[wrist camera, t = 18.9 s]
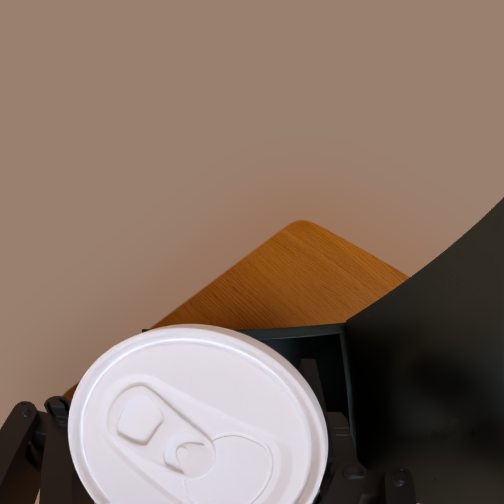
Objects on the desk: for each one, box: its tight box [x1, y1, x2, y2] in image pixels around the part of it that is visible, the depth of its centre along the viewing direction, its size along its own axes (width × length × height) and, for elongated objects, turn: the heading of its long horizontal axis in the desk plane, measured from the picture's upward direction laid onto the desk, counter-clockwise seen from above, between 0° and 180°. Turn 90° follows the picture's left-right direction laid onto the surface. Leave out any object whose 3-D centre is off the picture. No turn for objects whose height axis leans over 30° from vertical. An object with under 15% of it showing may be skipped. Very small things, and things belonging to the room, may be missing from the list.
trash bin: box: [142, 322, 360, 495], centre depth 21 cm, size 15×13×14 cm
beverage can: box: [68, 324, 328, 504], centre depth 10 cm, size 8×8×12 cm
